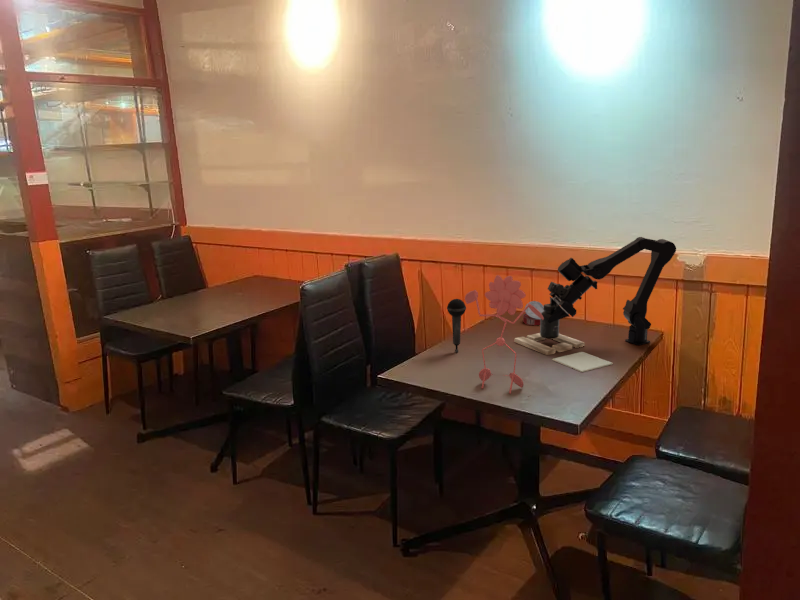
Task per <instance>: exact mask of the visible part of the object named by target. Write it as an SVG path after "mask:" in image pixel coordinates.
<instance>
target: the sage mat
mask: <svg viewBox="0 0 800 600" xmlns="http://www.w3.org/2000/svg"><path fill="white" fill-rule="evenodd" d="M552 361H554V362H556V363H558V364H561V365H563V366H565V367H567V368H569V369H572V368H573V369H572V370H575V371H577V372H580V373H586V372H588V371H593V370H597V369H600V368H604V367H608V366H612V365H613V362H611V361H609V360H606V359H604V358H600V357H598V356H595V355H592V354H589V353H587V352H584V351H579V352H576V353H575V352H574V353H571V354H567V355H566V354H565V355H562V356H558V357H555V358H552Z"/></svg>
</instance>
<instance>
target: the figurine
mask: <svg viewBox="0 0 800 600" xmlns="http://www.w3.org/2000/svg"><path fill="white" fill-rule="evenodd" d="M521 286H522V283H521V281H519V280H513V276H512V275H507V276H505V278H502V276H501V275H499V274H496V276H495V277H494V279H493V282H492V281H490V282H489V283H488V287H489V291H486V292H484V297H485V298H486V299H487V300H488V301H490V302H489V308H490V309H496V314H481V312H480V306H479V301H478V298H479V292H478V291H477V290H476V289H474V290H470V291H468V292H467V293H466V294H465V296H464V301H465V304H467V305H469V304H471V303H473V302H474V303H476V308H477V314H478V315H479V316H478V317H496V318H499V319H500V320H501V321H502V322H504V325H503V327H502V331H501V334H500V337H498V338H496V340H495V342H494V343H491V344H489V345H488V346H486V347H484V348H482V349H481V352H482V360H483V366H484V368H482V369H480V371H479V373H478V376H479V377H478V378H479V379H480V380H481V381H482V384H481V389H482V390H483V389H484V385H485V382H486V381H487V380H489V379H490V378H491V376H492V372H491V369H490V368H488V367H486V360H485V355H484V351H485V350H486V349H488V348H490V347H492V346H494V345H495V344H496V345H497V346H499V347H503V346H504V345H505V346H506V347H508V348H509V350H511V351H512V352H513V353H514V354H515V355H514V364H513V372H509V374H504V375H505V376H507V377H509V378H510V385H509V386H510V387H509V391H508V394H512V389H513V385H514V384H515V385H516V386H518V387H520V388H521V389H523V387H524V381H523V378H521V377H520V376H519V375H518V374H516V362H517V352H516V351H515V350H513V348H511V347H510V346H509V345H508V344H507V343H506V340H505V339H504V337H503V335H504V331H505V329H506V326H507V324H508V323H509V324H512V325H514V324H515V323H517V321H518V320H519V319H520V318H521V316H523V315H524V314H525V313H526V312H525V311H526V309H527V308H528V307H529V308H530V309H531V311H532V312H533V313H535V314H536V315H537V316H538V317H540V318H541V319H542V320H544V318H543V315H542V314H541V313H540V312H539V311H538V310H537V309H536V308H535V307H534V306H532V305H531V304H530V303H529V302H528V303H527V304H528V305H527V307H526V308H525V307H524V304H523V301H522V299H524V298H526V293H525V292H524V291H523V290H522V289H520V288H521ZM523 307H524V309H523ZM517 309H522V311H521V312H520V313H519V315H517V317H516V318H515V319H514V321H511V320H509V319H507V318H506V317H503V316H502V315H505V314H506V312H507V313H508V314H509V315H510V316H515V313H516V312H517ZM505 376H504V377H505ZM530 397H531V395H529V396H527V398H530Z"/></svg>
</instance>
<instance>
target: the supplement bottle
mask: <svg viewBox="0 0 800 600" xmlns="http://www.w3.org/2000/svg"><path fill="white" fill-rule="evenodd" d="M543 306H544V308H543V310H544V311H543V312H542V313H541V314H542V315H543V318H544V320H542V319H541V320H540V326H539V327H540V328H539V330H540V331H539V333H540V336H541V337H543V338H546V340H547V339H550V340H552V339H554V338H557V337H558V336H559V334H560V319H559V320H556V321H554V322H551V323H549V322H548V319H549V318H550V317H551V315H552V314H553V313H554V312H555V310H556V305H555V304H550V303H545V304H543Z"/></svg>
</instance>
